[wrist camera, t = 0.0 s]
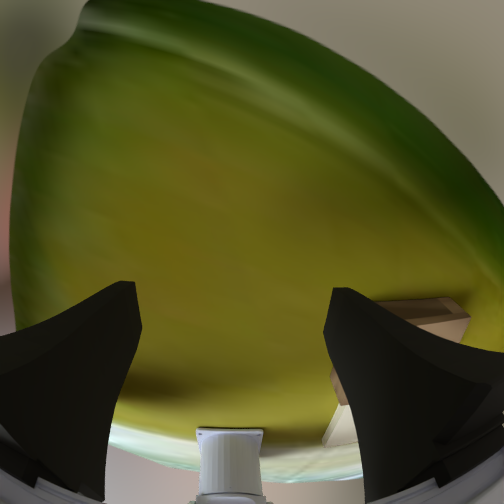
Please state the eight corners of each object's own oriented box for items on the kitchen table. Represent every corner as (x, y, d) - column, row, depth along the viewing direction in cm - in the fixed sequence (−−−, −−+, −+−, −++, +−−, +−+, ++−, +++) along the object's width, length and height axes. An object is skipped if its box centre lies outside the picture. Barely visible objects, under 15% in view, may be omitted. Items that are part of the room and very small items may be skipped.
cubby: (420, 362, 26) (435, 384, 23) (329, 376, 25) (340, 406, 22) (449, 296, 23) (471, 317, 19) (352, 302, 22) (370, 330, 18)
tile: (365, 429, 32) (369, 439, 30) (320, 436, 31) (323, 447, 29) (396, 374, 27) (403, 386, 25) (345, 383, 27) (350, 395, 25)
